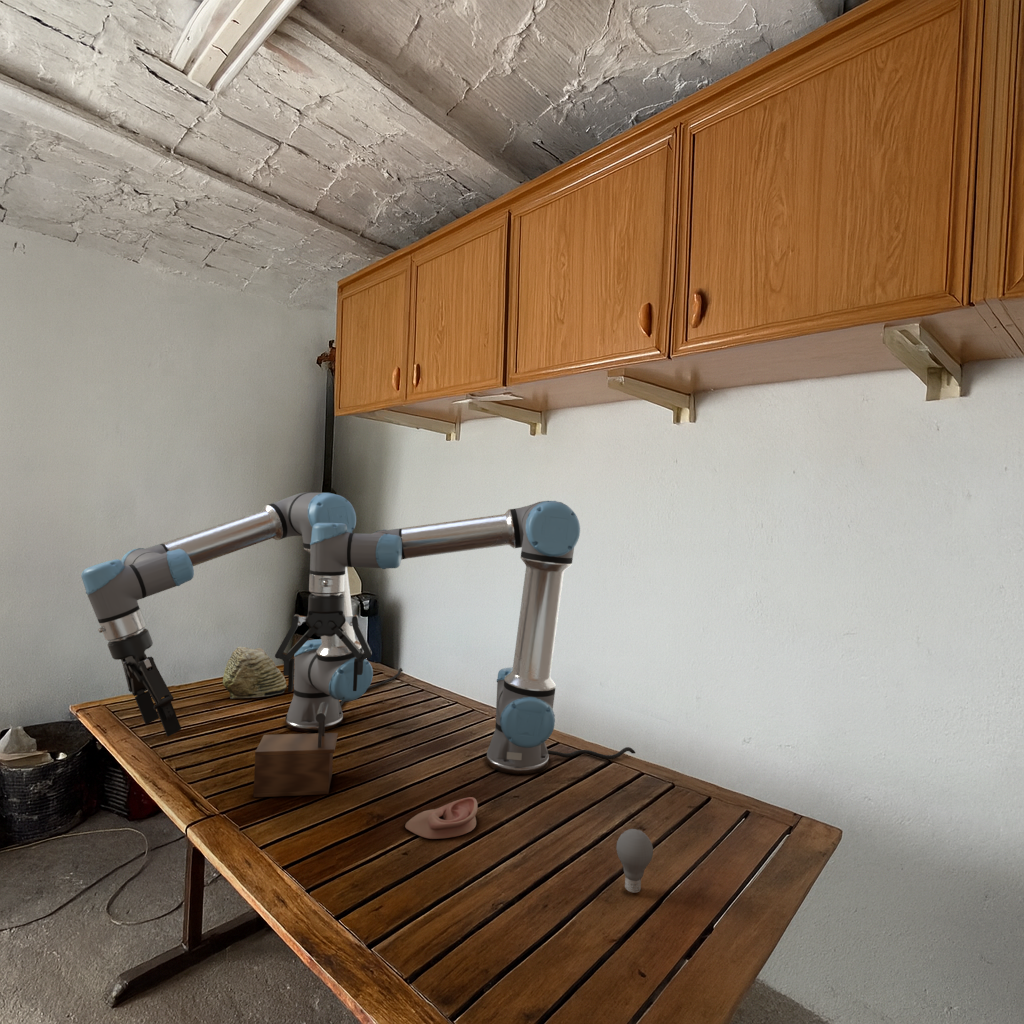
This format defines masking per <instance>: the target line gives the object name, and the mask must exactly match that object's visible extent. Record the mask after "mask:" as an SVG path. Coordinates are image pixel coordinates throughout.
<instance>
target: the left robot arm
mask: <svg viewBox="0 0 1024 1024" xmlns="http://www.w3.org/2000/svg"><path fill="white" fill-rule="evenodd" d="M316 523H342V524H346V525H347V530H348V532H350V533H353V531H354V530H355V528H356V524H357V514H356V510H355V508H354V506H353V504H352V503H351V502H350V501H349V500H348V499H347V498H346V497H345V496H342V495H340V494H335V493H331V492H310V491H304V492H300V493H296V494H294V495H291V496H288V497H285V498H283V499H280V500H277V501H275V502H272V503H268V504H265V505H264V506H263V508H262V510H259V511H257V512H253V513H251V514H248V515H244V516H242V517H238V518H235V519H232V520H229V521H226V522H223V523H220V524H217V525H213V526H210V527H208V528H207V527H206V528H205V529H201V530H198V531H195V532H192V533H189V534H186V535H183V536H179V537H176V538H174V539H171V540H168V541H164V542H161V543H158V544H154V545H152V546H149V547H146V548H144V547H138V548H134V549H131V550H128V552H125V554H124V555H123V556H122V558H121V559H119V558H118V559H117V558H115V559H111V560H107V561H104V562H101V563H97V564H94V565H91V566H89V567H86V568H84V569H83V571H81V574H80V576H81V581H82V583H83V586H84V590H85V594H86V595H87V598H88V600H89V603H90V605H91V607H92V610H93V612H94V615H95V617H96V619H97V622H98V623H99V626H100V627H99V628H98V629H97V631H98V633H100V634H101V633H102V634H103V637H104V639H105V640H106V641H108V642H107V647H108V650H109V652H110V655H111V658H112V659H113V660H115V661H116V660H117V661H119V660H120V662H121V664H122V668H123V673H124V675H125V679H126V683H127V688H128V691H129V693H131V695H132V696H134V699H135V702H136V704H137V707H138V709H139V713H140V715H141V717H142V720H143V722H144V724H145V725H149V724H151V723H153V722H155V721H156V720H158V719H160V722H161V725H162V727H163V730H164V732H165V735H166V737H171V736H172V735H174V734H176V733H178V732H179V731H181V730H182V726H181V724H180V721H179V719H178V717H177V713H176V711H175V708H174V706H173V703H172V701H173V700H174V696H173V694H172V693H171V691H170V689H169V687H168V685H167V683H166V682H165V680H164V678H163V676H162V674H161V673H160V670H159V669H158V667H157V665H156V662H155V659H154V657H152V656H147V654H146V650H149V649H150V648H151V647H152V646H153V643H154V642H153V639H152V636H151V634H150V631H149V629H147V628H146V627H147V623H146V619H145V617H144V615H143V612H142V609H141V608H140V606H139V603H138V601H139V600H142V599H145V598H148V597H150V596H153V595H155V594H159V593H161V592H165V591H168V590H170V589H173V588H176V587H180V586H181V585H184V584H185V583H188V582H190V581H191V580H192V579H193V578H194V576H195V569H194V567H195V566H198V565H201V564H204V563H207V562H209V561H212V560H215V559H218V558H220V557H223V556H226V555H229V554H231V553H235V552H237V551H241V550H243V549H245V548H248V547H252V546H254V545H257V544H260V543H263V542H265V541H268V540H271V539H273V540H274V541H280V540H283V539H285V538H291V537H301V538H302V546H303V549H304V550H305V551H306V552H307V553H308V554H310V543H311V536H312V527H313V526H314V525H315V524H316ZM342 594H343V595H344V615H345V617H347V616H353V615H354V614H353V605H352V597H351V587H350V579H349V570H348V567H346V568H345V591H344V592H342ZM341 628H342V629H343V630H344V631H345V633H346V634H347V635H348V637H349V638H350V639H351V640H352V641H353V643H354V644H355V645H356V646H357V647H358V649H359V650H360V651H361V652H362V653H363V652H364V651H363V649H362V647H361V644H360V642H359V640H358V638H357V637H356V634H355V632H354V630H353V626H350V625H349V623H348V622H345V623H344V625H343V626H342V627H341ZM293 657H294V684H293V695H292V696H293V697H292V699H291V702H290V704H289V708H288V711H287V713H286V714H285V726H286V728H287V729H289V730H291V731H294V732H295V731H296V732H301V733H316V732H317V733H318V730H319V722H317V721H316V715H317V711H318V708H319V705H320V704H321V703H322V702H327V703H328V705H329V708H328V711H327V715H326V719H325V731H329V730H332V729H335V728H337V727H339V726H340V725H342V723H343V722H344V713H343V709H342V706H343V705H344V703H346V702H353V701H355V700H358V699H359V698H361V697H362V696H363V695H364V694H365V693H366V692H367V691H368V690H371V689H374V688H377V687H379V686H383V685H384V684H387V683H389V682H392V681H393V680H395V679H396V678H398V677H399V676H400V675H401V673H402V672H403V668H402V667H400V668H399V669H398V672H397V674H395V675H393V676H392V677H390V678H387V679H385V680H383V681H381V682H377V683H375V684H372V681H373V678H374V670H373V666H372V664H371V663H370V661H369V660H368V659H367V658H366V659H364V661H363V673H362V675H357V691H353V677H354V660H355V659H357V658H356V657H355V656H354V655H353V653H352V652H351V651H350V650H349V649H348V647H347V646H346V645H345V644H344V643H343V642H342V640H341V639H340V638H339V637H338V636H337V635H336V634H335V635H334V636H332V637H328V636H321V637H320V638H319V639H308V640H307V641H306V642H305V643H304V645H303V646H302V647H301V648H300V649H299V650H298V651H297V652H296V653H295V654H294V655H293ZM371 684H372V685H371Z"/></svg>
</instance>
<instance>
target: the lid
mask: <svg viewBox="0 0 1024 1024" xmlns="http://www.w3.org/2000/svg"><path fill="white" fill-rule="evenodd" d="M328 708H329V705H328V703H327V702H322V703H321V704H320V705H319V708H318V711H317V715H316V721H317V722H319V730H318V732H317V733H316V732H314V733H283V734H263V736H262V738H261V739H260V742H259V744H258V746H257V748H256V749H255V751H254V757H255V756H263V755H294V754H325V753H333V754H335V752H336V746H337V742H338V737H339V732H325V731H326V730H325V719H326V715H327V711H328Z"/></svg>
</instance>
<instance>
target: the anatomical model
mask: <svg viewBox="0 0 1024 1024" xmlns="http://www.w3.org/2000/svg"><path fill="white" fill-rule="evenodd" d="M478 805H479V804H478V801H477V799H476V798H475V797H471V796H469V797H464V798H460V799H457V800H454V801H452V802H449V803H446V804H444V805H442V806H440V807H437V808H435V809H427V810H424V811H421V812H419V813H417V814H416V815H413V816H412V817H411V818H410V819H409V820H408V821H407V822H406V823H405V825H404V827H405V829H406V830H408V831H409V832H411V833H413V834H415V835H416V836H418V837H422V838H424V839H427V840H428V839H430V840H437V839H438V840H439V839H449V838H455V837H459V836H463V835H466V834H468V833H470V832H472V831H473V830H474V829H475V828H476V826H477V818H476V815H477V813H478V807H479V806H478Z"/></svg>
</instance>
